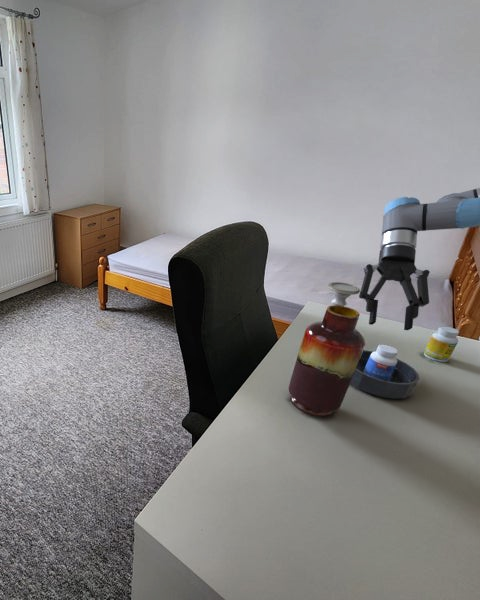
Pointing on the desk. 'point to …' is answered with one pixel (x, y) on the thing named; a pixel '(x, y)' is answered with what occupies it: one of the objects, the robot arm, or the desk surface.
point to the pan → (394, 388)
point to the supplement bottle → (442, 344)
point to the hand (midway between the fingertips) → (389, 325)
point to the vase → (326, 362)
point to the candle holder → (342, 292)
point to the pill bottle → (381, 362)
